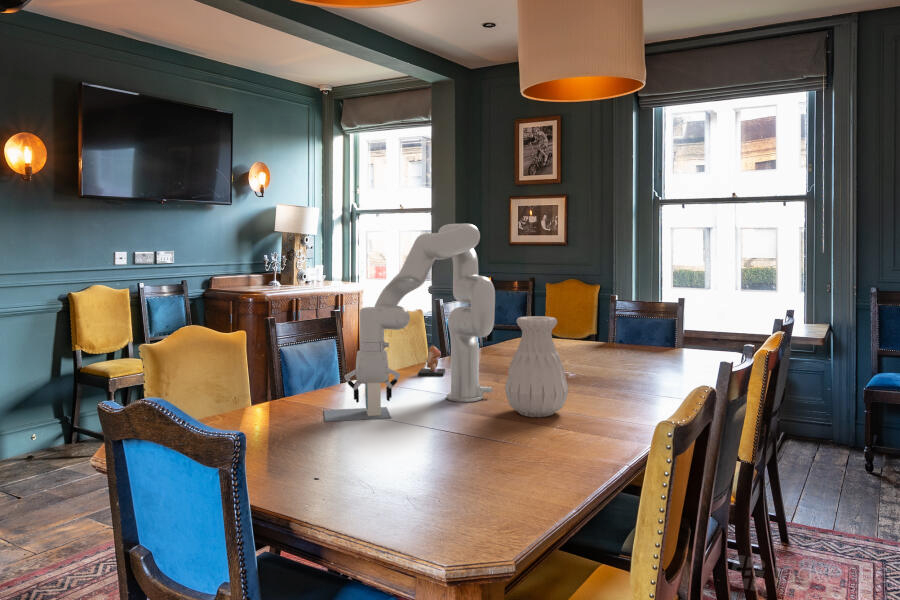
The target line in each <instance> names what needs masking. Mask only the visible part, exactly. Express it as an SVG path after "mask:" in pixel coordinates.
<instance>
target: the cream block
mask: <svg viewBox="0 0 900 600" xmlns="http://www.w3.org/2000/svg"><path fill="white" fill-rule="evenodd" d="M381 384H382V383H380V382H377V383H367V384H364V386H365V388H364V389H365V391H364V393H365V397H364V398H365V408H366V412H367V415H368V416H375V415H381V407H382V403H381V402H382V401H381V400H382V395H381V387H382V385H381Z"/></svg>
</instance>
